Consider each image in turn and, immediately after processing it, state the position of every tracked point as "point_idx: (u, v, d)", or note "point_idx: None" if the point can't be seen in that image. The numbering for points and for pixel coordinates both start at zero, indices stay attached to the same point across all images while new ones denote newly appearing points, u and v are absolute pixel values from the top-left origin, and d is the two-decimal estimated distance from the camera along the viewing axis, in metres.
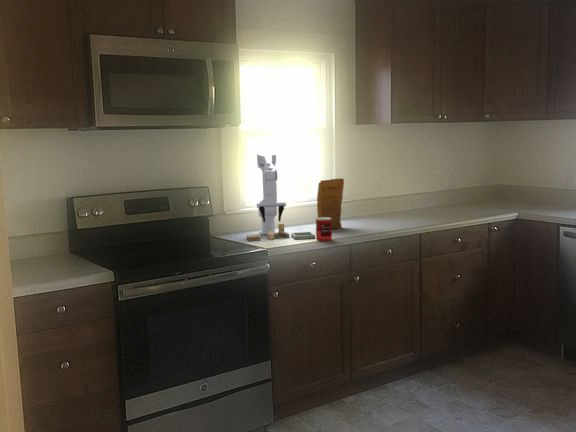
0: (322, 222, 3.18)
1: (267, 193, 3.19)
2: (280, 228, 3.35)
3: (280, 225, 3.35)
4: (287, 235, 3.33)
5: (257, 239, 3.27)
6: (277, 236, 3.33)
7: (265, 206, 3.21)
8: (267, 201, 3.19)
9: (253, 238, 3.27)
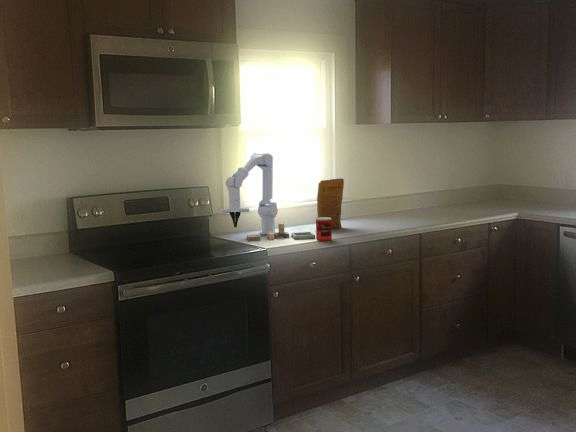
0: (322, 222, 3.18)
1: None
2: (280, 228, 3.35)
3: (280, 225, 3.35)
4: (287, 235, 3.33)
5: (257, 239, 3.27)
6: (277, 236, 3.33)
7: (229, 212, 3.28)
8: (230, 207, 3.26)
9: (253, 238, 3.27)
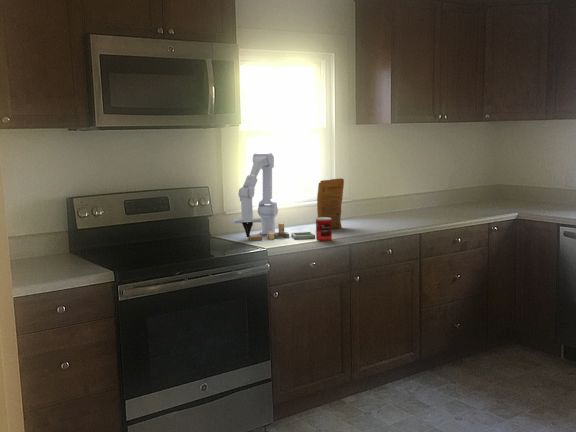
0: (322, 222, 3.18)
1: (241, 209, 3.28)
2: (280, 228, 3.35)
3: (280, 225, 3.35)
4: (287, 235, 3.33)
5: (259, 239, 3.27)
6: (277, 236, 3.33)
7: (241, 222, 3.29)
8: (243, 217, 3.28)
9: (255, 238, 3.27)
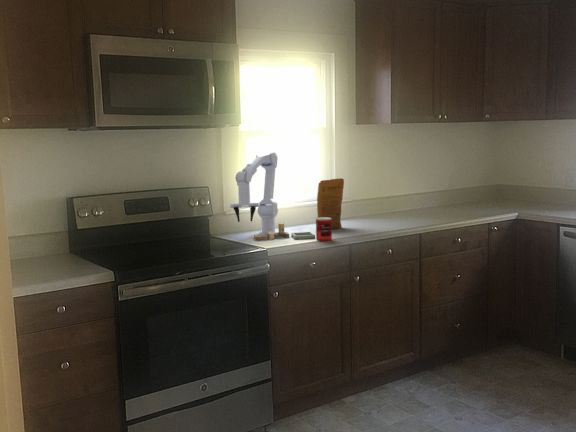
0: (322, 222, 3.18)
1: (238, 193, 3.27)
2: (280, 228, 3.35)
3: (280, 225, 3.35)
4: (287, 235, 3.33)
5: (264, 239, 3.28)
6: (277, 236, 3.33)
7: (238, 206, 3.28)
8: (240, 201, 3.26)
9: (260, 238, 3.27)
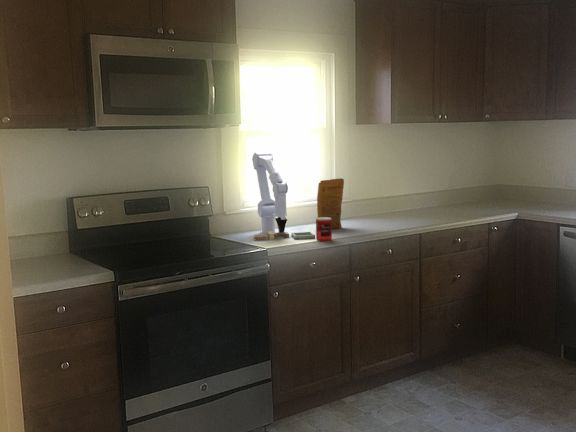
0: (322, 222, 3.18)
1: (279, 205, 3.32)
2: None
3: None
4: (287, 235, 3.33)
5: (264, 239, 3.28)
6: (277, 236, 3.33)
7: (279, 216, 3.38)
8: None
9: (260, 238, 3.27)
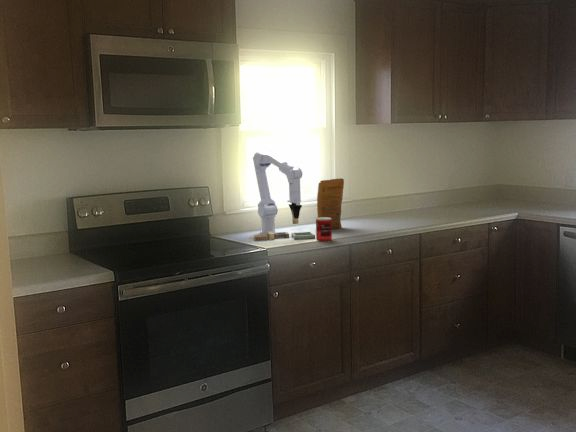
0: (322, 222, 3.18)
1: (294, 190, 3.29)
2: None
3: None
4: (287, 235, 3.33)
5: (264, 239, 3.28)
6: (277, 236, 3.33)
7: (293, 202, 3.35)
8: None
9: (260, 238, 3.27)
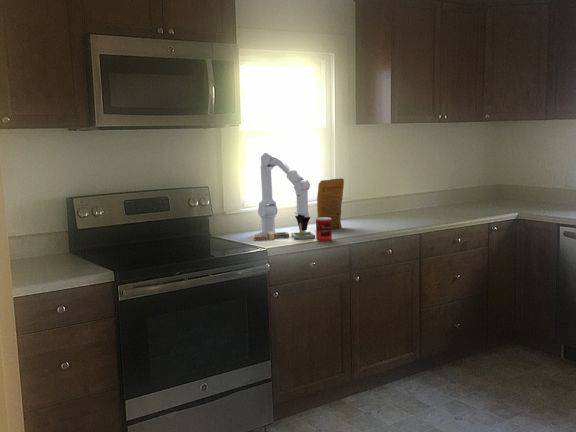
0: (322, 222, 3.18)
1: (302, 202, 3.28)
2: (301, 227, 3.31)
3: None
4: (287, 235, 3.33)
5: (264, 239, 3.28)
6: (277, 236, 3.33)
7: (300, 214, 3.35)
8: None
9: (260, 238, 3.27)
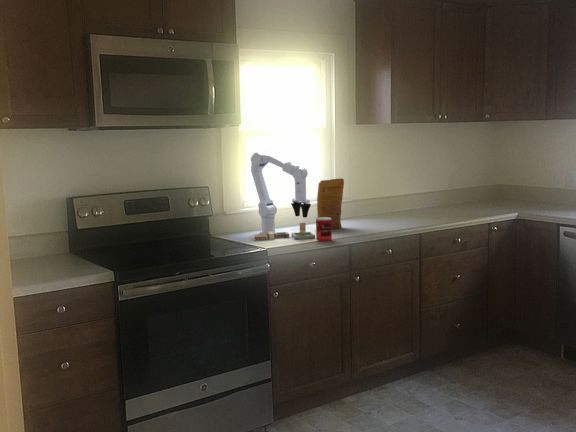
0: (322, 222, 3.18)
1: (302, 189, 3.35)
2: (301, 227, 3.31)
3: (302, 224, 3.31)
4: (287, 235, 3.33)
5: (263, 239, 3.28)
6: (277, 236, 3.33)
7: (297, 201, 3.41)
8: None
9: (259, 238, 3.27)
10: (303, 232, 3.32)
